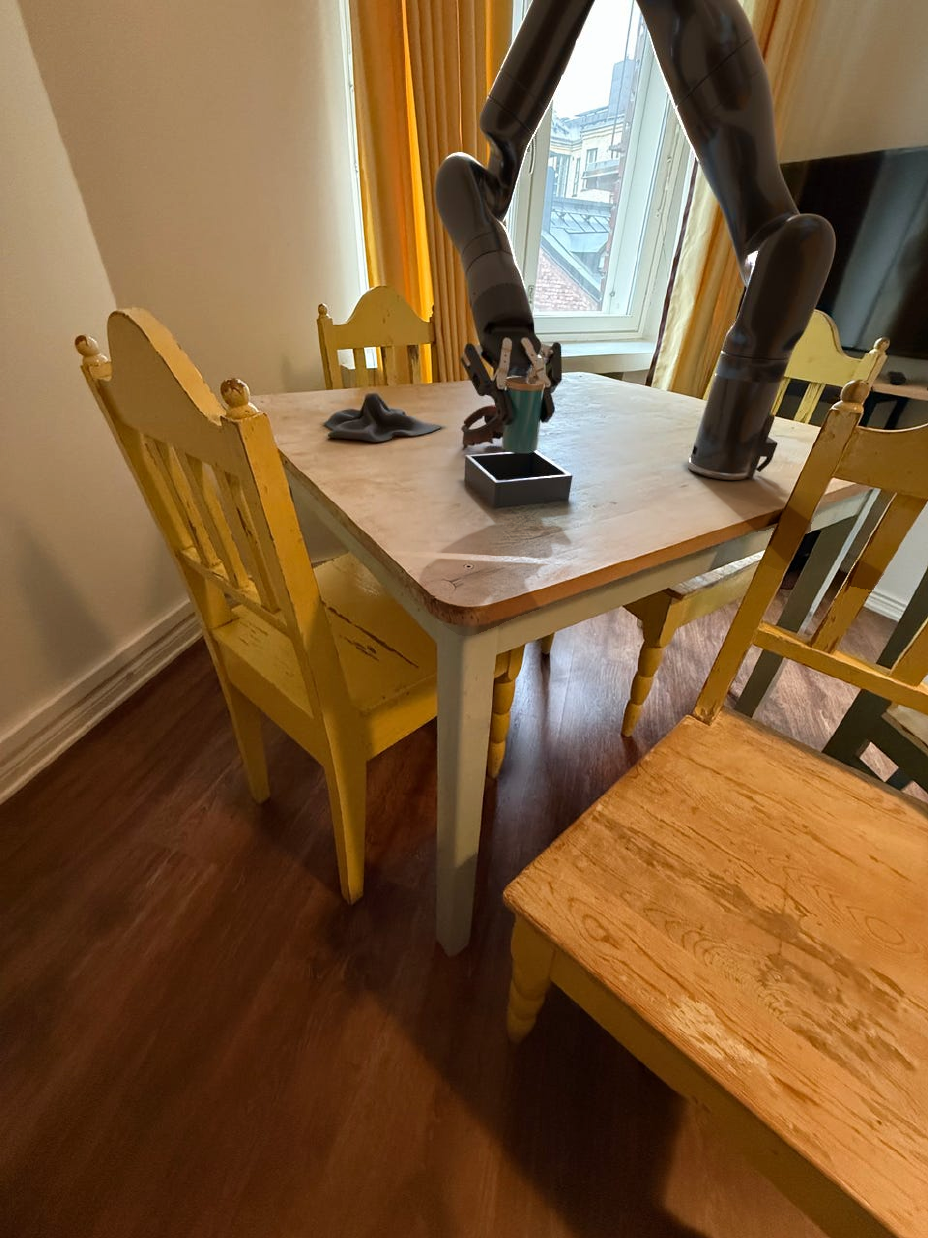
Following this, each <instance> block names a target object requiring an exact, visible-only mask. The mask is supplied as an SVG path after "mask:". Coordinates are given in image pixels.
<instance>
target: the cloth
mask: <svg viewBox="0 0 928 1238" xmlns="http://www.w3.org/2000/svg"><path fill="white" fill-rule="evenodd" d="M323 424H324V426H326V427H327V428H328V429H330V430H331V431H330V432H329V433H328V434H327V437H328V438H330V439H344V440H345V439H346V440H356V441H357V440H358V441H359V440H360V441H363V442H364V441H365V442H370V443H382V442H387V441H390V440H392V439H393V438H395V437H417V436H424V435H427V434H430V433H432V432H435V431H437V430H440V429H442V428H443V426H442V425H438V424H433V423H427V422H424V421H421V420H420V419H417V418H415V417H413V416H412V415H407V414H406V413H405V411H404V410H402V409H400V408H389V406H388V404H387V403H386V402H385V401H384V400H383V399H382V397H381V396H380V395H379V394H378V393H377V392H370V393H367V394H365V396H364V400H363V404H362V406H361V407H360V409H356V408H350V407H349V408H345V409H342V410H339V411H336V412H334V413H333V414H331V415H330V416H329V418H328V419H327V420H326V421H325V422H323Z"/></svg>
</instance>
